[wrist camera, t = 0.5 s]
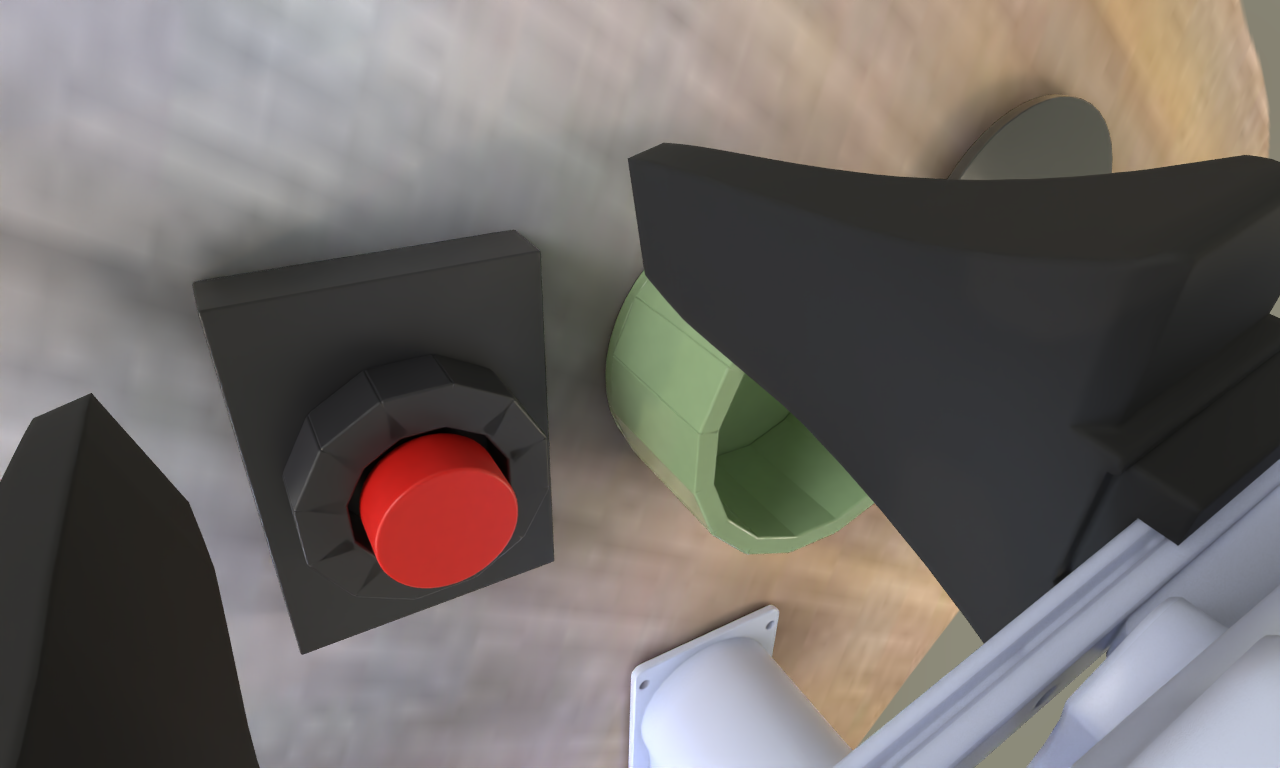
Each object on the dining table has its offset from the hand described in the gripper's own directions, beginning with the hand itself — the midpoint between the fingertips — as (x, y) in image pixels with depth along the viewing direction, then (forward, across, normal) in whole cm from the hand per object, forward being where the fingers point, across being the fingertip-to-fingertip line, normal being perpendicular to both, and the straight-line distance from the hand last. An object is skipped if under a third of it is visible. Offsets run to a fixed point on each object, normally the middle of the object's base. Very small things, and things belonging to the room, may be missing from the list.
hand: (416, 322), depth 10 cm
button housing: (+9, 0, +10) cm, 13 cm away
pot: (+8, -11, +12) cm, 19 cm away
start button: (+6, +1, +9) cm, 11 cm away
